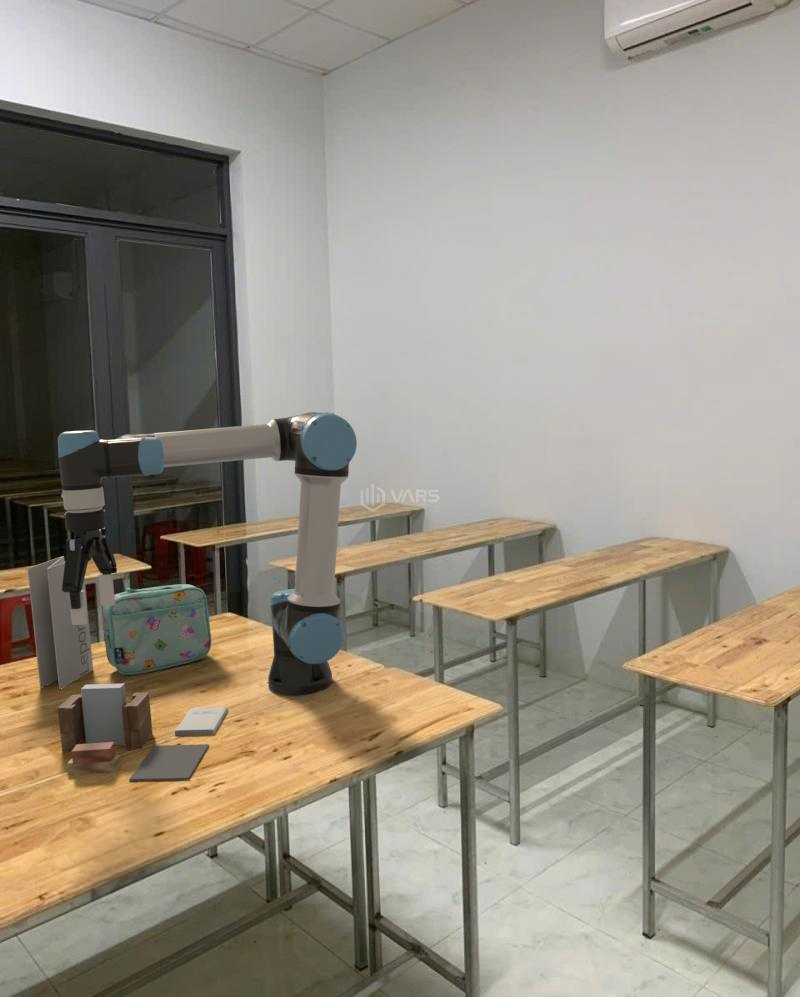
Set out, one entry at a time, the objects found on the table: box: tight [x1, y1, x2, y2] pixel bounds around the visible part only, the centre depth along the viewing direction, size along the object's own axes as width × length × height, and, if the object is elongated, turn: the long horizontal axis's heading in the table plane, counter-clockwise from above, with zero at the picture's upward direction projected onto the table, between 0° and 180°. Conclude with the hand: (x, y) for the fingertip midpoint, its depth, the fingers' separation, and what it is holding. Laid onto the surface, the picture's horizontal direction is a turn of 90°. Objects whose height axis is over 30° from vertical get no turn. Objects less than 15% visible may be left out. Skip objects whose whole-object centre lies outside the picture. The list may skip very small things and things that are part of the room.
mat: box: [128, 743, 210, 782], centre depth 157 cm, size 11×14×1 cm
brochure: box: [27, 555, 94, 690], centre depth 204 cm, size 14×6×30 cm, turn 168°
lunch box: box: [101, 583, 212, 676], centre depth 212 cm, size 27×10×21 cm, turn 120°
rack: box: [57, 692, 153, 752], centre depth 167 cm, size 16×8×9 cm, turn 88°
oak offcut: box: [66, 754, 122, 775], centre depth 155 cm, size 9×3×2 cm, turn 88°
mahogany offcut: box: [71, 742, 116, 764], centre depth 155 cm, size 7×3×2 cm, turn 94°
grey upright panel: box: [80, 683, 127, 746], centre depth 167 cm, size 8×2×12 cm, turn 88°
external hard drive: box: [174, 706, 229, 736], centre depth 176 cm, size 2×8×12 cm
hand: (94, 614), depth 165 cm, fingers open, 13 cm apart
